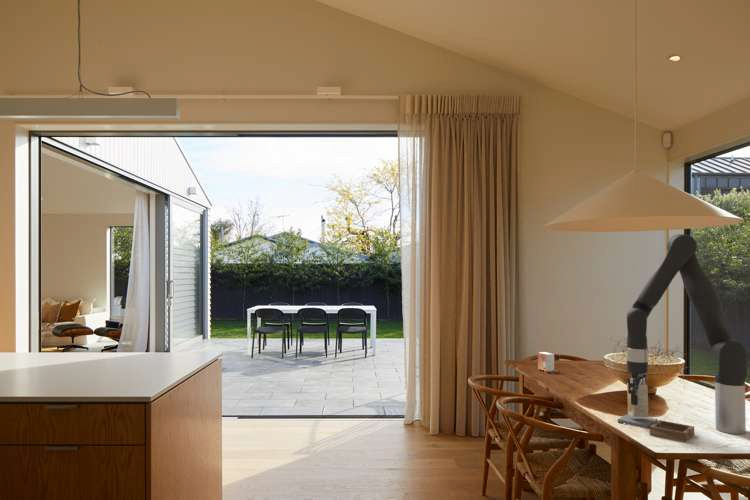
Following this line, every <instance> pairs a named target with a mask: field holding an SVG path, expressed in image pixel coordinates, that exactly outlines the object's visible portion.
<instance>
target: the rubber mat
mask: <svg viewBox="0 0 750 500" xmlns="http://www.w3.org/2000/svg"><path fill="white" fill-rule="evenodd" d="M657 421H659V419H658V418H653V417H649V416H648V417H633V416H631V415H629V414H628V413H627V414H625V415H623V416H621V417H620V418H618V419H617V423H618V422H620V423H619V424H623V423H625V425H628V424H630V425H629V426H633V425H635V426H634V427H638V426H640V428H643V427H644V429H648V428H649V429H650V426H651V425H653V424H654V423H656V422H657Z"/></svg>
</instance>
